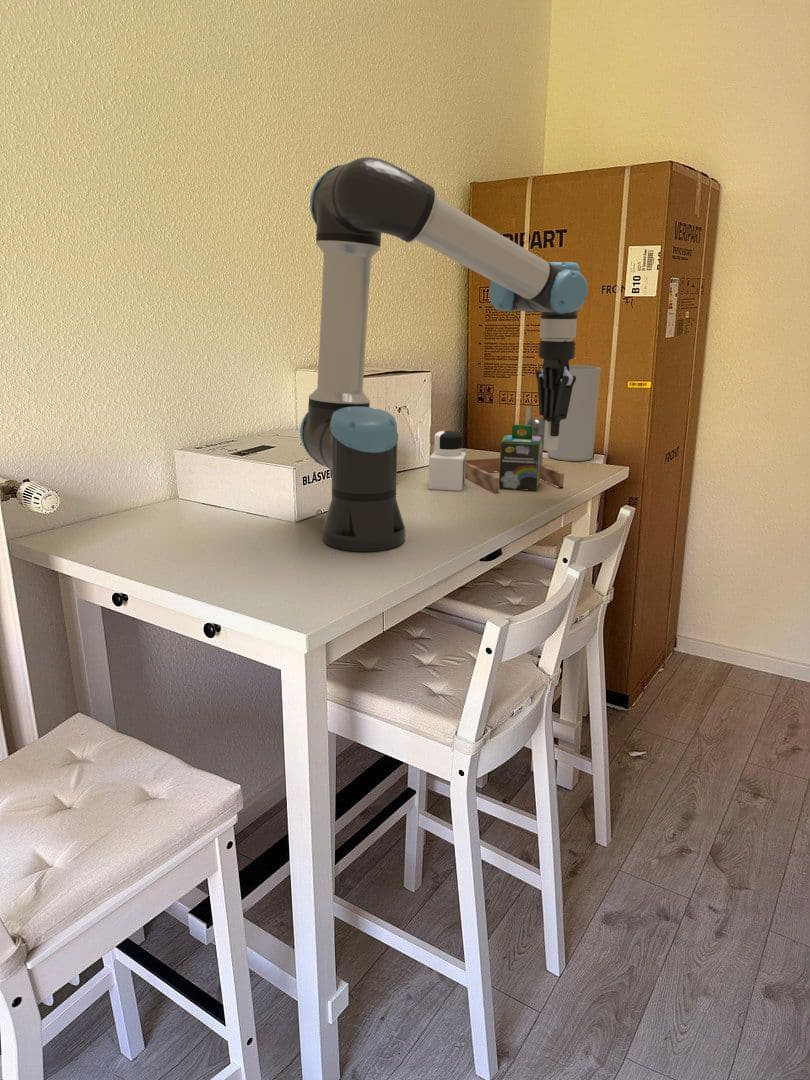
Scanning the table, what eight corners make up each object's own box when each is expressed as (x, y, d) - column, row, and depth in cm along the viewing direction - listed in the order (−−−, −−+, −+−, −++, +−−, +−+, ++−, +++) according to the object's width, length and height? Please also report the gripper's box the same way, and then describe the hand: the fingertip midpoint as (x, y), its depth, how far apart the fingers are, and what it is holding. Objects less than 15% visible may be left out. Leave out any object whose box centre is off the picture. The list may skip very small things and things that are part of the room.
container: (465, 483, 187) (467, 430, 183) (461, 491, 179) (463, 435, 176) (433, 482, 188) (434, 428, 184) (428, 489, 181) (429, 433, 177)
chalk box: (539, 483, 189) (544, 422, 185) (537, 491, 181) (541, 428, 176) (501, 480, 191) (505, 420, 187) (497, 489, 182) (501, 426, 178)
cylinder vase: (543, 453, 225) (549, 364, 218) (585, 453, 226) (593, 365, 219) (553, 461, 214) (560, 369, 206) (598, 462, 214) (607, 369, 207)
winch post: (545, 468, 205) (549, 407, 200) (527, 469, 203) (531, 408, 198) (535, 464, 209) (540, 404, 205) (518, 465, 208) (522, 405, 203)
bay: (562, 488, 184) (564, 473, 183) (494, 493, 178) (495, 478, 177) (520, 469, 203) (521, 456, 202) (457, 473, 197) (458, 460, 196)
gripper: (589, 341, 160) (581, 454, 167) (557, 337, 171) (550, 443, 178) (557, 341, 157) (550, 456, 164) (526, 338, 169) (521, 445, 176)
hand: (550, 449), depth 171 cm, fingers closed
